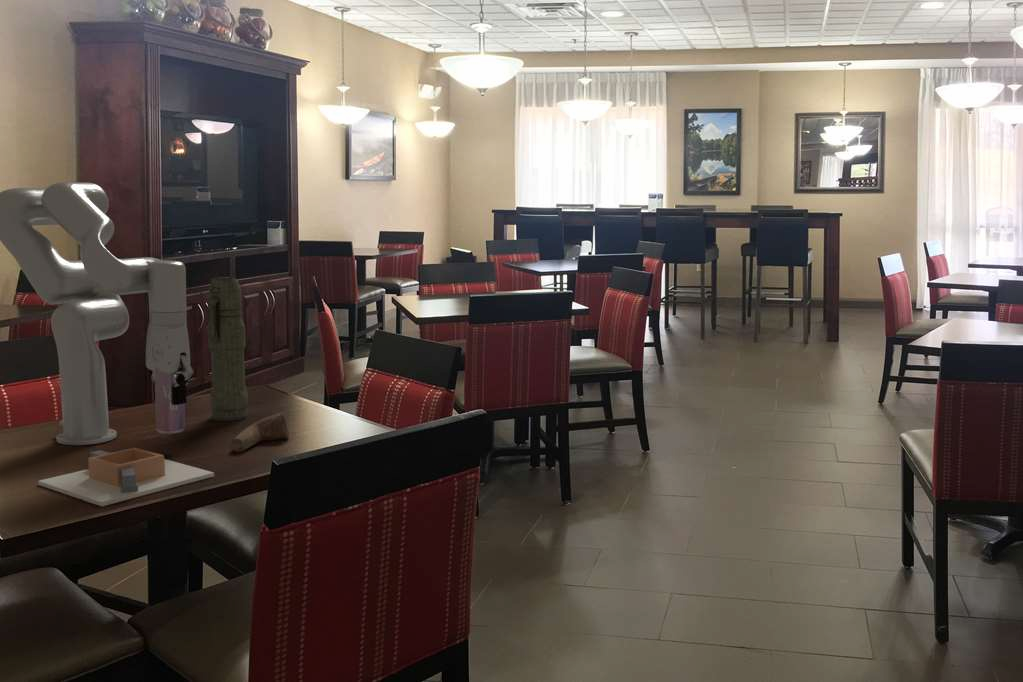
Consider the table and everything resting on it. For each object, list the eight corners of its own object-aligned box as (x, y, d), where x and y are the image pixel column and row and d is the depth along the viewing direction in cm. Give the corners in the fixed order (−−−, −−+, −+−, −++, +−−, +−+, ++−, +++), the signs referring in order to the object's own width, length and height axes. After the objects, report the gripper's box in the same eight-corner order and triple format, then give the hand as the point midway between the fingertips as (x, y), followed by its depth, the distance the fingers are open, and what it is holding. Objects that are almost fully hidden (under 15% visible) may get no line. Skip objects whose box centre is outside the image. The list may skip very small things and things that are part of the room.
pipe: (223, 431, 215) (268, 425, 214) (249, 414, 231) (291, 408, 230) (229, 460, 216) (273, 454, 215) (255, 441, 232) (296, 435, 231)
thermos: (201, 421, 245) (195, 279, 239) (225, 411, 256) (219, 275, 251) (234, 423, 243) (228, 279, 238) (257, 412, 254) (252, 275, 249)
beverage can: (184, 426, 220) (182, 359, 218) (185, 433, 215) (184, 364, 212) (155, 428, 218) (153, 360, 216) (156, 434, 213) (154, 365, 210)
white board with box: (38, 484, 191) (36, 460, 191) (149, 458, 210) (148, 436, 210) (101, 506, 178) (100, 480, 178) (214, 476, 197) (213, 452, 197)
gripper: (129, 316, 215) (131, 398, 217) (177, 325, 204) (178, 411, 207) (159, 313, 220) (161, 392, 223) (208, 321, 210) (209, 405, 213)
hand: (169, 400), depth 215 cm, fingers closed on beverage can, 6 cm apart
